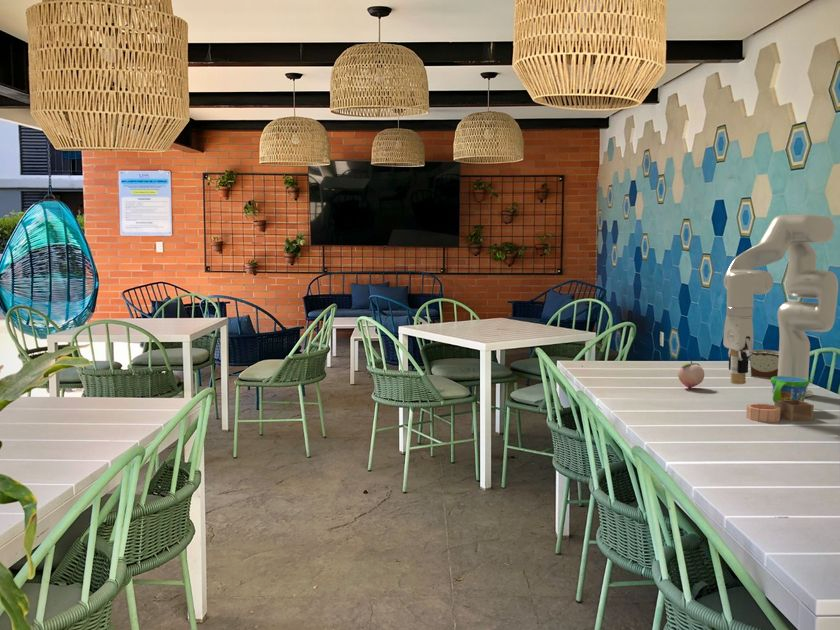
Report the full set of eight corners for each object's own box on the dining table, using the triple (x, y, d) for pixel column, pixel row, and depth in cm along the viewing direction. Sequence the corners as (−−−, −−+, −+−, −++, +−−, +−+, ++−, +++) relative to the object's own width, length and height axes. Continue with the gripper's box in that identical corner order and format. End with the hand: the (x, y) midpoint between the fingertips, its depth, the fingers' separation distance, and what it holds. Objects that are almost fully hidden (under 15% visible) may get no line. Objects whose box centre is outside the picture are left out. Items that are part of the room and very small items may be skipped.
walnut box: (776, 417, 243) (777, 400, 243) (798, 416, 244) (799, 400, 244) (790, 422, 236) (791, 405, 236) (812, 421, 237) (813, 404, 237)
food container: (784, 377, 312) (785, 351, 311) (781, 379, 307) (782, 353, 306) (750, 374, 318) (751, 348, 317) (746, 376, 313) (748, 350, 312)
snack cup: (787, 405, 260) (788, 373, 259) (818, 411, 251) (820, 378, 250) (757, 411, 252) (758, 378, 251) (789, 417, 243) (790, 383, 242)
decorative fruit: (694, 392, 281) (695, 363, 280) (673, 388, 287) (674, 360, 286) (708, 388, 287) (710, 360, 286) (687, 385, 293) (688, 357, 292)
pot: (740, 417, 243) (741, 404, 242) (768, 416, 244) (769, 403, 243) (756, 424, 234) (757, 410, 233) (786, 423, 235) (786, 409, 235)
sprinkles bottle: (748, 384, 251) (750, 340, 249) (735, 385, 250) (736, 341, 248) (739, 381, 255) (740, 338, 253) (726, 382, 254) (727, 339, 252)
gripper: (714, 309, 257) (713, 366, 260) (742, 316, 241) (741, 377, 243) (736, 308, 258) (735, 365, 261) (766, 315, 242) (764, 376, 244)
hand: (738, 370), depth 252 cm, fingers closed on sprinkles bottle, 4 cm apart
